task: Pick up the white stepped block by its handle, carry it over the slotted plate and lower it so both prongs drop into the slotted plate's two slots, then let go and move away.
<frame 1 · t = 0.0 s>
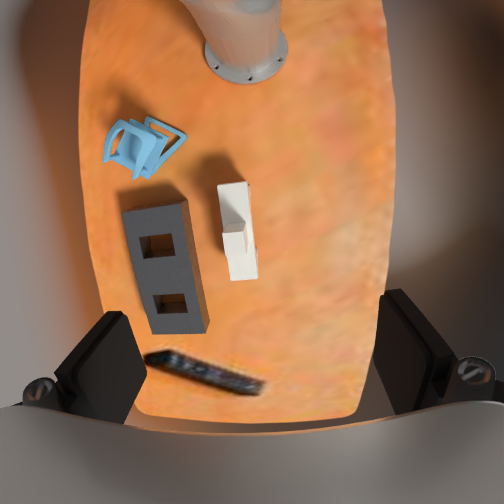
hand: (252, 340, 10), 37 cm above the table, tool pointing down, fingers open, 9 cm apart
slotted plate: (170, 267, 49), on the table
white stepped block: (241, 224, 47), on the table
chair: (156, 148, 43), on the table
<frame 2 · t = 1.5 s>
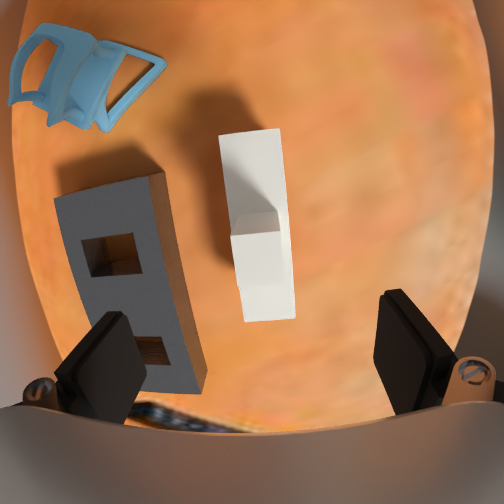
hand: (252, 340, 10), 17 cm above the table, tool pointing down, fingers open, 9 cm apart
slotted plate: (141, 288, 29), on the table
white stepped block: (262, 215, 26), on the table
chair: (116, 88, 22), on the table
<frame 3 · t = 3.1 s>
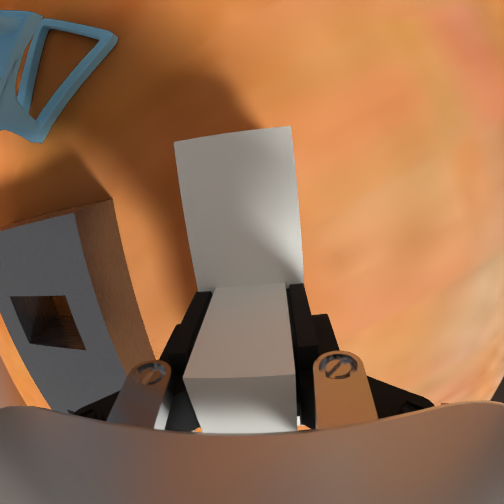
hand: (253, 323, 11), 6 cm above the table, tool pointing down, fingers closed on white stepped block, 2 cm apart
slotted plate: (98, 352, 20), on the table
white stepped block: (258, 268, 17), on the table, touching gripper
chair: (53, 81, 14), on the table
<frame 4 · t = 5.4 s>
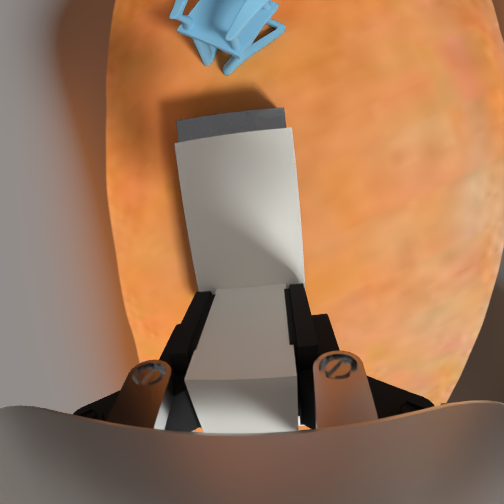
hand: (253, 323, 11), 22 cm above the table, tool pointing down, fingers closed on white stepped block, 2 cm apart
slotted plate: (244, 219, 32), on the table
white stepped block: (259, 269, 17), point 16 cm above the table, touching gripper
chair: (235, 41, 26), on the table
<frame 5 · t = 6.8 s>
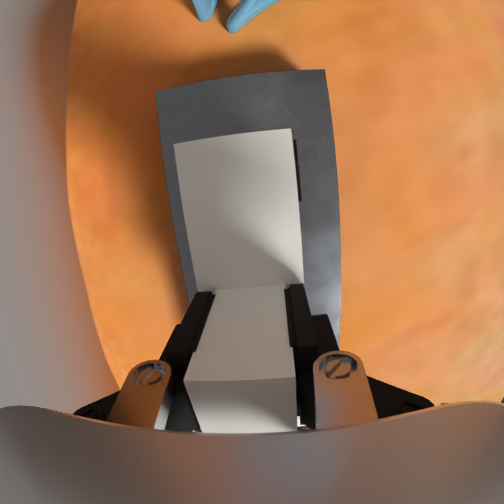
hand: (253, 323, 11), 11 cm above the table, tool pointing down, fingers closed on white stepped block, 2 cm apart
slotted plate: (261, 239, 22), on the table
white stepped block: (258, 269, 17), point 6 cm above the table, touching gripper
when the fingers open (7 cm above the table, at t = 8.0 s): white stepped block stays where it is, resting on slotted plate.
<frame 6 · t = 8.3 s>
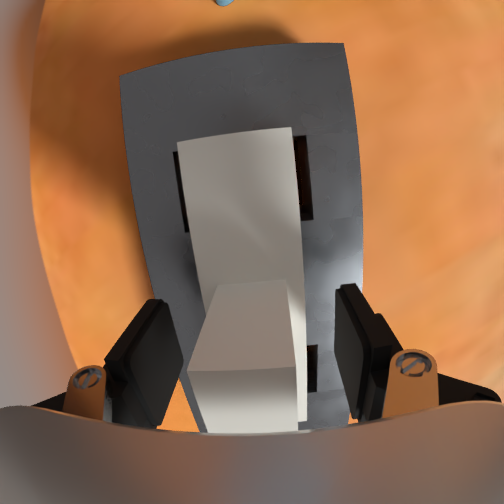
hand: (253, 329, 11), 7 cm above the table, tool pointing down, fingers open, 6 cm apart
slotted plate: (258, 263, 17), on the table
white stepped block: (259, 266, 17), resting on slotted plate
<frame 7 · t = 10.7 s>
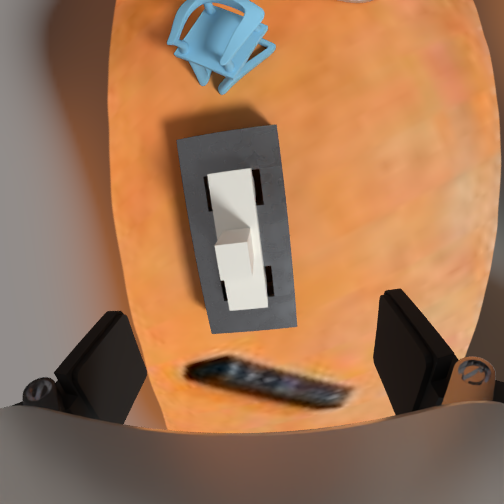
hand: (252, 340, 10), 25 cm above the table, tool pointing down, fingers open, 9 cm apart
slotted plate: (243, 230, 34), on the table
white stepped block: (243, 231, 34), resting on slotted plate
chair: (229, 61, 28), on the table
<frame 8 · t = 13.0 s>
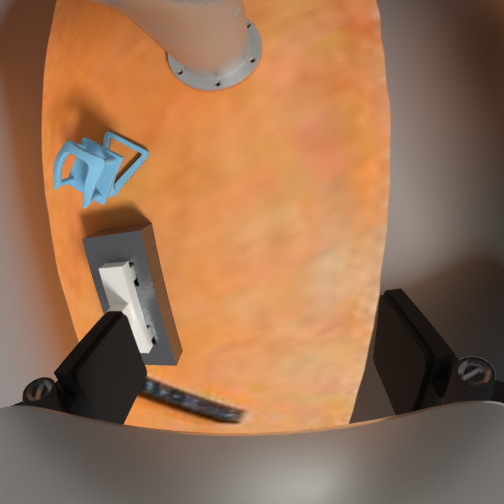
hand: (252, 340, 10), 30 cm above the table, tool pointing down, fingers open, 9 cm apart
slotted plate: (138, 294, 44), on the table
white stepped block: (137, 296, 44), resting on slotted plate
chair: (118, 166, 38), on the table
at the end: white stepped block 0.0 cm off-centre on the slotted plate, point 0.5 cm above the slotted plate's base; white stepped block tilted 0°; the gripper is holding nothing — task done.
